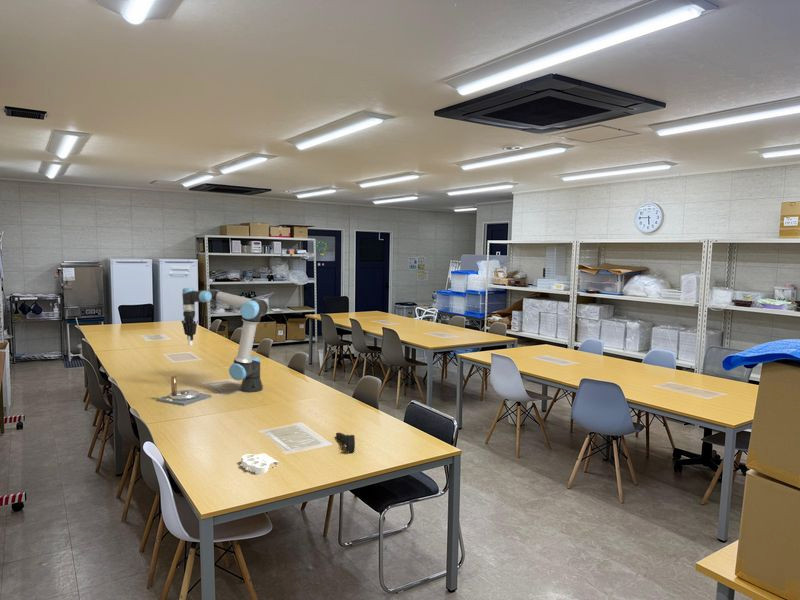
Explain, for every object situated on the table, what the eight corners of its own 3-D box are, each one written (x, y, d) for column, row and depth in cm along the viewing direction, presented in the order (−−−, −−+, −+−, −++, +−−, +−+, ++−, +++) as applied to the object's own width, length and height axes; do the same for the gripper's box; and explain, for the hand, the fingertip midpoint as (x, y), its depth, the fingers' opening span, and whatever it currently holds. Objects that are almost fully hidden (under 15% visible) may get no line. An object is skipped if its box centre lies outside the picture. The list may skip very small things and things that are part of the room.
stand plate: (211, 397, 348) (211, 393, 348) (184, 405, 327) (184, 402, 327) (185, 392, 357) (185, 389, 357) (157, 401, 336) (156, 397, 336)
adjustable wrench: (341, 446, 277) (355, 453, 254) (336, 447, 276) (349, 454, 253) (340, 430, 278) (354, 435, 255) (335, 430, 277) (348, 436, 253)
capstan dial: (205, 394, 346) (205, 373, 345) (183, 401, 330) (182, 379, 329) (185, 391, 354) (185, 370, 353) (163, 397, 338) (162, 376, 337)
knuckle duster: (282, 469, 235) (251, 477, 226) (263, 457, 249) (233, 464, 239) (282, 461, 235) (251, 470, 225) (263, 450, 248) (233, 457, 239)
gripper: (177, 310, 360) (179, 345, 361) (191, 311, 354) (193, 346, 356) (186, 309, 366) (187, 343, 368) (200, 310, 361) (201, 344, 363)
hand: (190, 344), depth 362 cm, fingers closed
